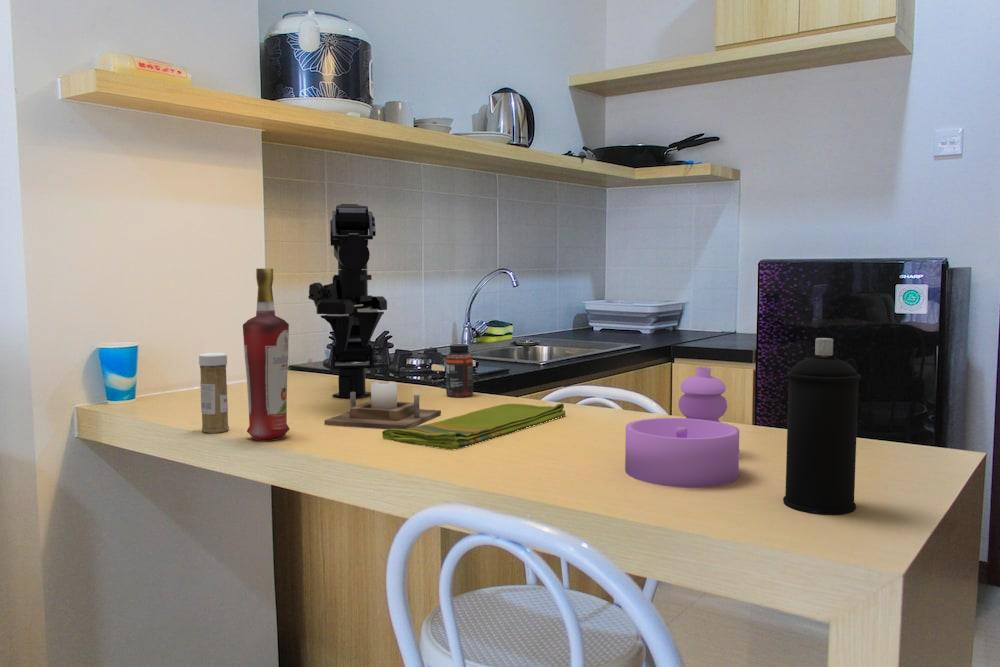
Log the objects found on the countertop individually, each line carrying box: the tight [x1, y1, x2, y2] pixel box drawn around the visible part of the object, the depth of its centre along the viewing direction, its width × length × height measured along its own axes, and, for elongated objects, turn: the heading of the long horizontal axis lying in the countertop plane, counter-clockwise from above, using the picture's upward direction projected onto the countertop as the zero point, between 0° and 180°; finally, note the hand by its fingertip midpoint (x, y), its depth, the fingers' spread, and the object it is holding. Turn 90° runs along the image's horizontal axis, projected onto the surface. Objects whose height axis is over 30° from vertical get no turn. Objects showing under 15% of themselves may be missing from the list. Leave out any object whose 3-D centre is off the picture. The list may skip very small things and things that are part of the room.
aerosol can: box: [782, 337, 862, 515], centre depth 100 cm, size 8×8×20 cm
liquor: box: [242, 268, 290, 442], centre depth 138 cm, size 7×7×28 cm
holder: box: [324, 392, 442, 430], centre depth 156 cm, size 16×16×5 cm
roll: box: [370, 380, 398, 409], centre depth 156 cm, size 5×5×6 cm
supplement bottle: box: [445, 343, 474, 398], centre depth 184 cm, size 6×6×11 cm
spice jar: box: [198, 352, 230, 434], centre depth 145 cm, size 5×5×14 cm
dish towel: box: [381, 403, 566, 450], centre depth 149 cm, size 15×36×3 cm, turn 146°
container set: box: [624, 366, 740, 488], centre depth 120 cm, size 25×15×13 cm, turn 155°
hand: (353, 348), depth 167 cm, fingers open, 9 cm apart
